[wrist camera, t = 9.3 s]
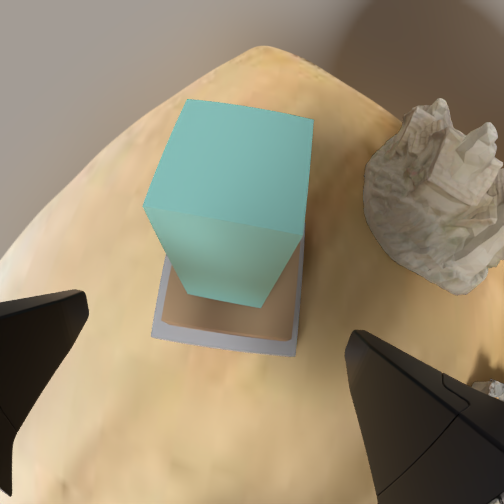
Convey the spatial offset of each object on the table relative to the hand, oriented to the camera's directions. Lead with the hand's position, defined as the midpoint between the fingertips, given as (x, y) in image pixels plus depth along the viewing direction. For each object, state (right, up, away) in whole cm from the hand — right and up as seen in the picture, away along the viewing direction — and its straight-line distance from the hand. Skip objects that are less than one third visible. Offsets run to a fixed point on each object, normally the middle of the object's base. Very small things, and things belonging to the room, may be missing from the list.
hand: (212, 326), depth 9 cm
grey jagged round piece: (+19, +6, +18) cm, 27 cm away
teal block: (0, +1, +10) cm, 10 cm away
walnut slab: (0, 0, +12) cm, 12 cm away
